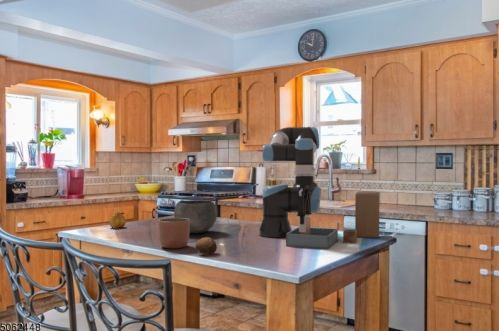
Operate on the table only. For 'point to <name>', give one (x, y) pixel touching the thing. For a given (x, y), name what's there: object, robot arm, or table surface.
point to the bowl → (197, 214)
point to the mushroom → (206, 246)
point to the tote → (312, 238)
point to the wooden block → (367, 214)
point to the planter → (174, 232)
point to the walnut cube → (349, 236)
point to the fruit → (117, 220)
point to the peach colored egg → (307, 227)
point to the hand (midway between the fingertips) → (304, 230)
